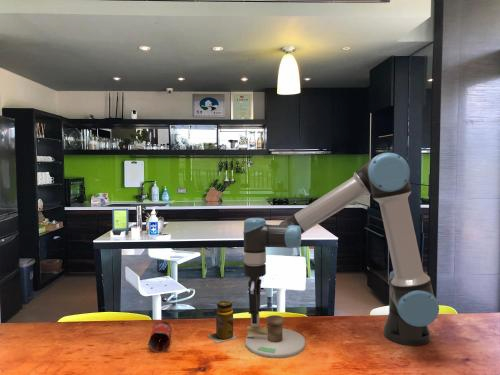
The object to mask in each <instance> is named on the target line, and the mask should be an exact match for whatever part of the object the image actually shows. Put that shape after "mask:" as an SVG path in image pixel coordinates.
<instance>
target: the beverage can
mask: <svg viewBox="0 0 500 375" xmlns="http://www.w3.org/2000/svg"><path fill="white" fill-rule="evenodd" d="M151 330H152V331H151V334H150V337H149V340H148V344H147V346H148V347H149V348H150V349H151V350H152V351H153V352H155V353H160V351H159V348H158V347H160V345H159V340H160V339H161V340H160V341H162V339H164V340H163V342H164V344H163V343H162V350H161V353H164V352H165V351H167V350H168V349H169V348H170V346H171V337H172V332H173V330H172V326H171V324H170V323H169V322H167V321H166V320H160V321H158V322H156V323H155V324H154V325H153V327H152V329H151Z"/></svg>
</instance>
